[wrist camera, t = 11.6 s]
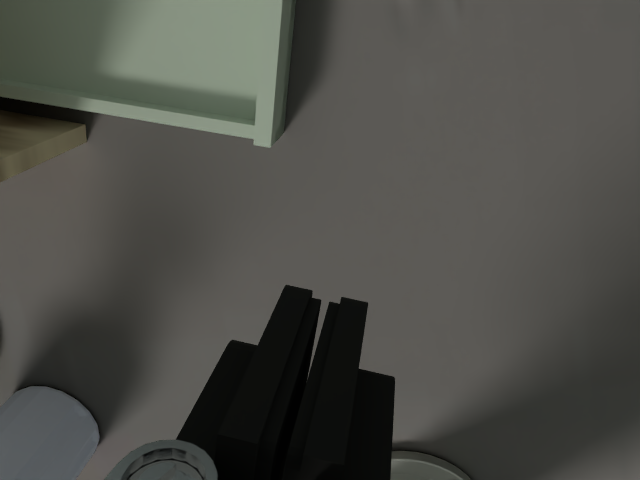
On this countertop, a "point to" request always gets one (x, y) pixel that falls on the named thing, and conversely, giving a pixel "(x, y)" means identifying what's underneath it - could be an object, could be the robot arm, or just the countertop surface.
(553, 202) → the countertop surface
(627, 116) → the countertop surface
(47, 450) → the soap bottle
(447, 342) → the countertop surface
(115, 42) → the tray
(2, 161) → the shelf
